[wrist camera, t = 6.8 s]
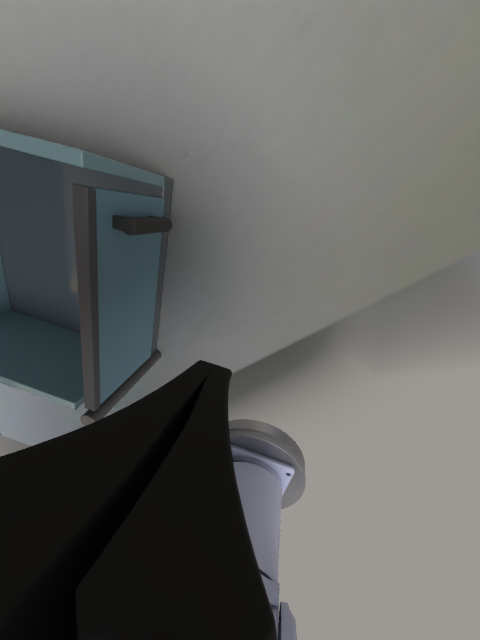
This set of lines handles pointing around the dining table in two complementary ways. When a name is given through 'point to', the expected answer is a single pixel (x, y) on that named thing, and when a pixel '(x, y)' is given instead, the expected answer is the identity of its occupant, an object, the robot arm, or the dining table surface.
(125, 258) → the blue flat panel
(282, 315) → the dining table surface
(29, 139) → the light blue open box
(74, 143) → the dining table surface
